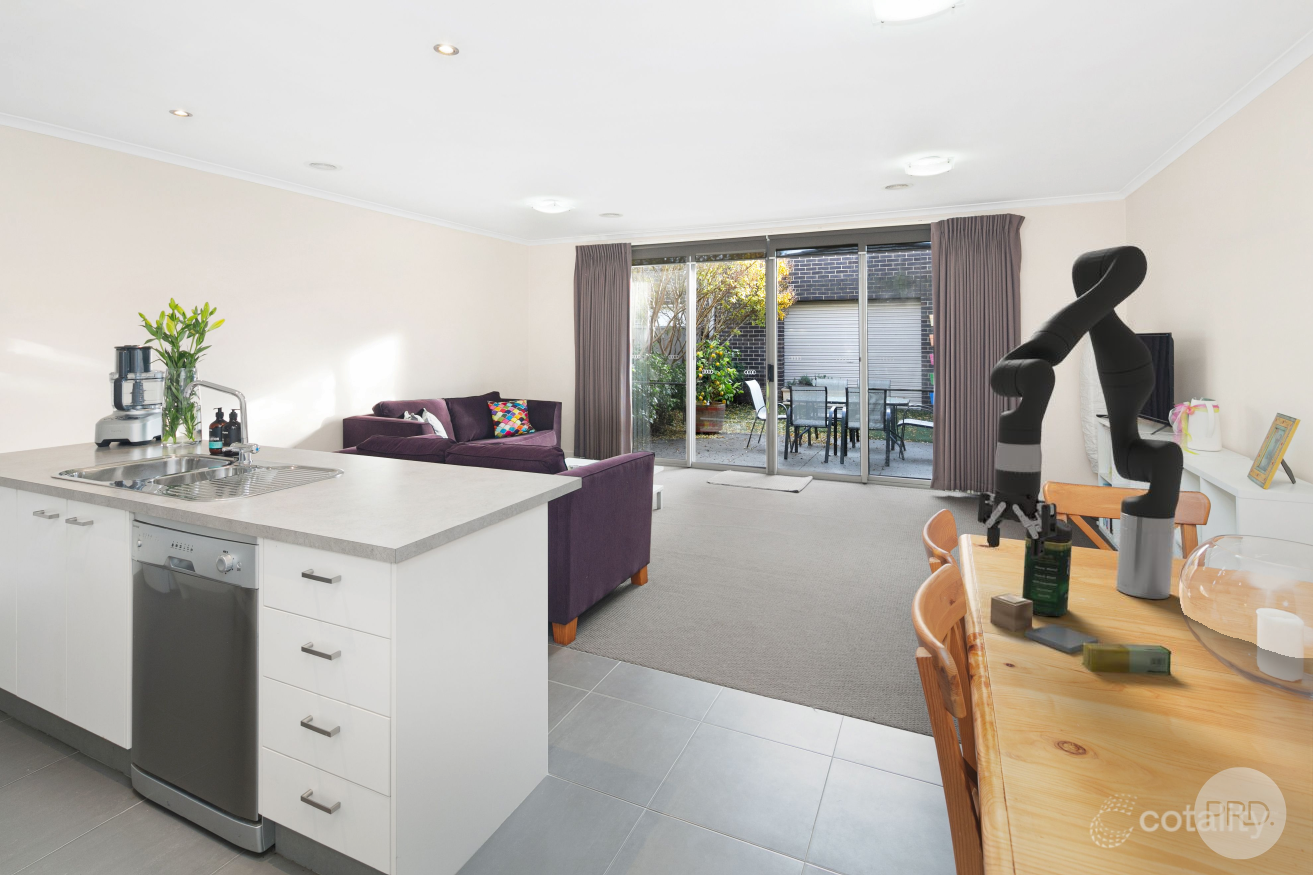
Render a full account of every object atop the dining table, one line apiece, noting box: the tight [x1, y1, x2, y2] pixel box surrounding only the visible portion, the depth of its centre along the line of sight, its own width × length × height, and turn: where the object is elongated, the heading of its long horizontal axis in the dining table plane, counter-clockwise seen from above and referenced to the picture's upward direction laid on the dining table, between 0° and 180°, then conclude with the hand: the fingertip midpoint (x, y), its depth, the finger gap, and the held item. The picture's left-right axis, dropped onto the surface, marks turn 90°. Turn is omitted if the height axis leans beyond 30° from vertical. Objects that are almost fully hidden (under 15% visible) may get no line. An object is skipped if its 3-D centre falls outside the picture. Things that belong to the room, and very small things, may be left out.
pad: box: [1024, 623, 1099, 655], centre depth 115 cm, size 8×8×1 cm
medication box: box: [1081, 642, 1172, 676], centre depth 104 cm, size 12×3×4 cm, turn 82°
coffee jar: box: [1021, 517, 1073, 617], centre depth 129 cm, size 10×8×19 cm
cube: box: [989, 592, 1034, 632], centre depth 122 cm, size 5×5×5 cm
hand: (1014, 552), depth 121 cm, fingers open, 8 cm apart
